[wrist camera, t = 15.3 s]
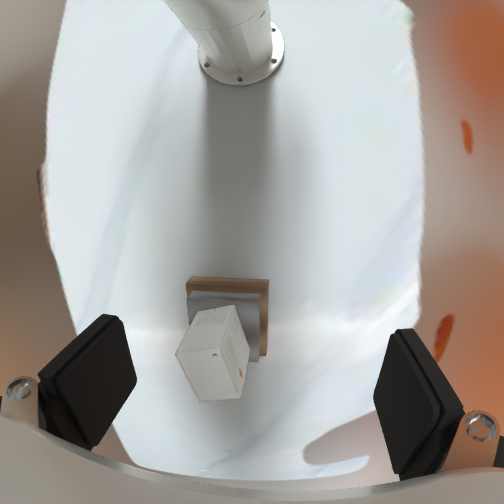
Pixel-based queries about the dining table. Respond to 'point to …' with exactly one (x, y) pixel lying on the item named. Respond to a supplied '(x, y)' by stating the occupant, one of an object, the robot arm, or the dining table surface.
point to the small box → (215, 354)
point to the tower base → (237, 288)
